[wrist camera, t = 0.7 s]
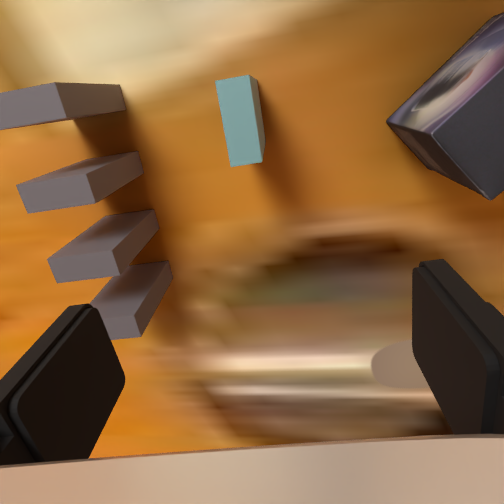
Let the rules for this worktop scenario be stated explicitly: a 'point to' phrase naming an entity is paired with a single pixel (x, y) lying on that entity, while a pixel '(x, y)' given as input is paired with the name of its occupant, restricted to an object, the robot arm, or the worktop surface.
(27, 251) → the worktop surface
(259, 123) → the domino
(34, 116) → the domino
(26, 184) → the domino
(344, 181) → the worktop surface
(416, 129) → the small box
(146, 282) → the domino
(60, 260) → the domino
